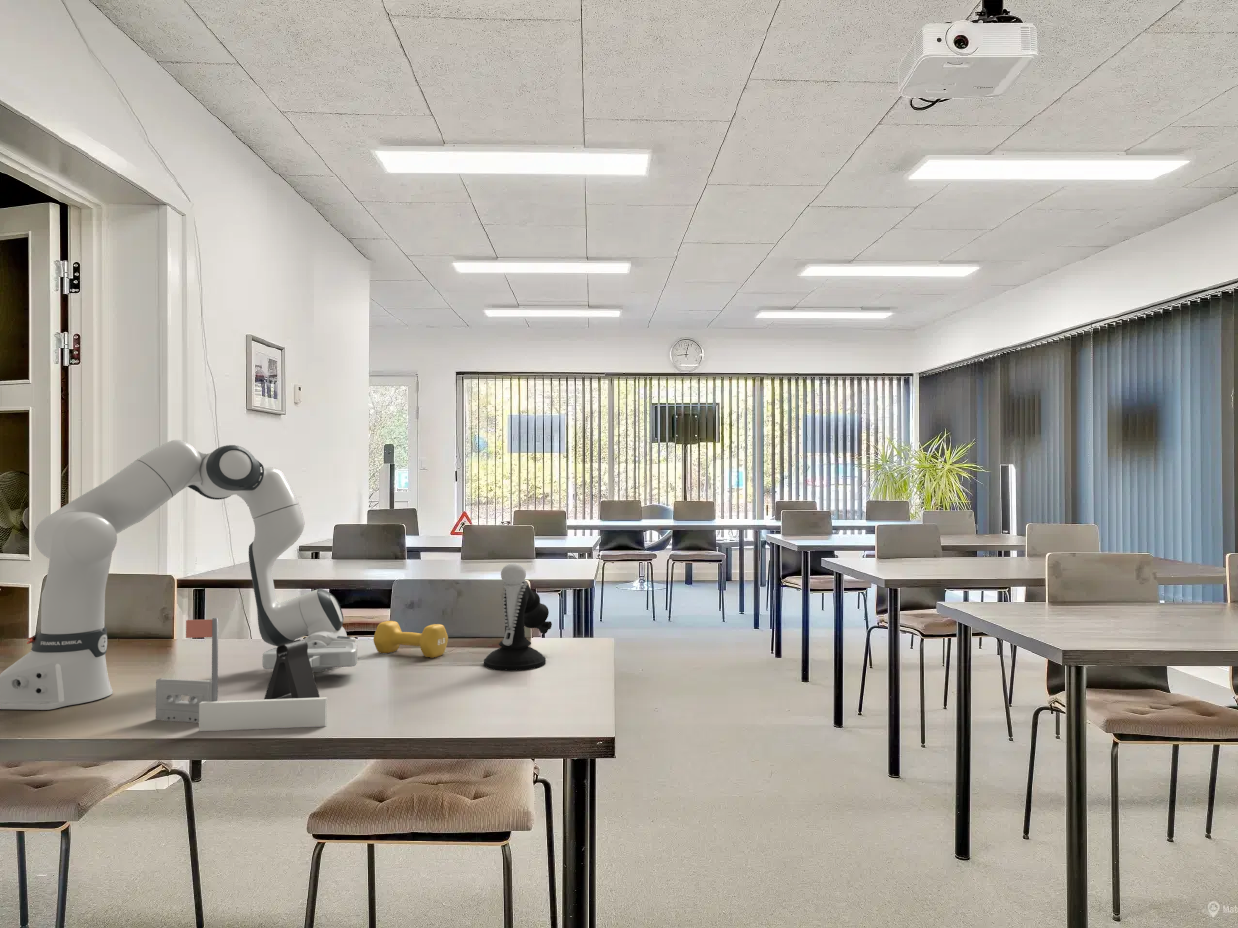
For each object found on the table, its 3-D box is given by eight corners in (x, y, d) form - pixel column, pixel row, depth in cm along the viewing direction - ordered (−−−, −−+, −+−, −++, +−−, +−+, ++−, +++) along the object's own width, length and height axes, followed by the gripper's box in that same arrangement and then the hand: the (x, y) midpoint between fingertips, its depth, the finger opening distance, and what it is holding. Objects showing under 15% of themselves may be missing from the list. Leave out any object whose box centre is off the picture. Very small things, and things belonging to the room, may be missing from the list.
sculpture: (471, 667, 196) (472, 564, 196) (520, 648, 218) (520, 556, 218) (527, 673, 190) (527, 566, 191) (571, 653, 212) (570, 558, 212)
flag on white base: (181, 731, 145) (182, 620, 146) (209, 710, 159) (210, 608, 159) (325, 726, 149) (326, 617, 149) (341, 705, 162) (341, 606, 163)
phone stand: (319, 698, 168) (320, 640, 168) (300, 705, 162) (300, 645, 163) (284, 694, 171) (284, 637, 171) (263, 702, 165) (264, 643, 166)
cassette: (216, 720, 152) (217, 679, 153) (209, 723, 151) (210, 682, 151) (160, 717, 155) (161, 677, 155) (153, 720, 153) (153, 679, 153)
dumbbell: (451, 653, 212) (451, 622, 212) (431, 660, 204) (431, 628, 204) (391, 648, 219) (391, 618, 219) (369, 655, 211) (370, 623, 211)
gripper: (272, 639, 188) (253, 651, 174) (362, 637, 191) (350, 649, 177) (271, 666, 188) (252, 680, 174) (362, 663, 191) (350, 677, 177)
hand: (303, 664), depth 176 cm, fingers closed
